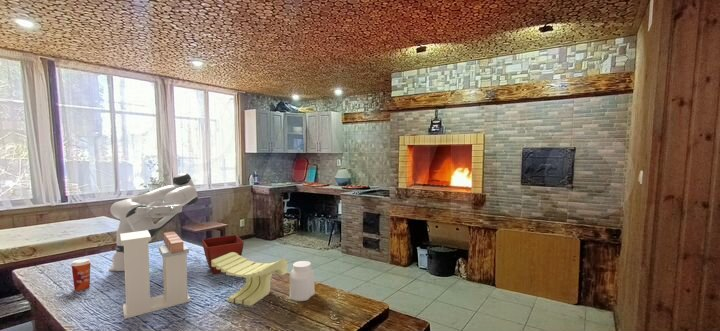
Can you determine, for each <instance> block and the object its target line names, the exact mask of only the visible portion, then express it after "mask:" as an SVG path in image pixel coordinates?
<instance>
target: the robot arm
mask: <svg viewBox="0 0 720 331" xmlns="http://www.w3.org/2000/svg"><path fill="white" fill-rule="evenodd" d="M198 202H199V195H198V193H197V189H196V186H195V185H194V182H193V180H192V177H191V175H190V174H189V173H187V172H185V173H184V172H182V173H179V174H177V175H174V177H173V178H172V184H170V185H166V186H162V187H159V188H156V189H154V190H151V191H149V192H146V193H143V194H139V195H136V196H132V197H129V198H126V199H123V200H119V201H116V202H114V203H113V204H111V206H110V210H109V211H110V214H111V215H112V216H113V217H114V218H116V219H118V220H119V226H118V228H117V230H116V231H115V232H116V245H115V254H113V256H112V265H111V266H110V267H109V269H108V271H110V272H115V271H116V272H125V266H124V245H122V246H121V240H120V234H123V233H131V232H138V231H146V230H148V232H149V234H150V235H151V240H152V239H153V238H155V237H156V235H158V233H159V232H160V231H161V230H163V229H164V228H165V227H166V226H167V225H169V224H170V223H171V222H172V221H173V220H175V219H176V217H178V216H179V215H180V213H182V212H183V206H185V207H191V206H193V205H195V204H197V203H198ZM152 218H153V219H160V218H161V219H160V220H158V222H156V223H154V222H153V220H152Z"/></svg>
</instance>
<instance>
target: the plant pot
mask: <svg viewBox="0 0 720 331" xmlns="http://www.w3.org/2000/svg"><path fill="white" fill-rule="evenodd" d="M201 241H202V242H201V243H202V248H203V251H204V256H205V260H206V262H207V265H208V267H209V270H210V272H211V274H212V275H213V276H215V275H218V274H225V273H226V272H221V269H220V270H218V269H216V267H212V266H211V260H213V259H216V258H218V257H221V256H223V255H226V254H228V253H231V252H235V253H238V255H240V256H243V251H244V244H245V242H244V240H243V239H241V237H239V236H238V235H237V234H231V235H225V236H224V235H223V236H217V237H210V238H204V239H203V238H202V240H201Z"/></svg>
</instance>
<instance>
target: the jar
mask: <svg viewBox="0 0 720 331" xmlns="http://www.w3.org/2000/svg"><path fill="white" fill-rule="evenodd" d="M288 277H289V298H290V299H291V300H293V301H295V302H305V301H308V300H309V299H310V298H311V297H313V296H314V295H315V294H316V293H315V292H316V291H315V272H314V270H313V268H312V262H310V261H308V260H299V261H295V262H294V263H293V264H292V270H291V271H290V274H289V276H288Z"/></svg>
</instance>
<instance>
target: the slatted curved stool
mask: <svg viewBox="0 0 720 331" xmlns="http://www.w3.org/2000/svg"><path fill="white" fill-rule="evenodd" d="M211 266H212V267H216V269H218V270H220V269H221V272H225V273H226V274H225V275H226V276H231V277H232V276H234V277H237V278H238V277H239V278H244V279H245V284H244V286H243V287H241V289H240V290H238V291H237V292H235V293H234V294H232V295H230V296H229V297H228V298H227V300H226V303H228V302H229V303H232V304H233V303H235V304H239V305H244V306H249V307H251V306H253V305H254V304H256V303H257V302H259V301H260V300H262V299H263V298H264V297H266V296H267V295H269V294H270V291H271V281H272V276H273V274H274V275H275V274H276V275H280V276H283V275H285V274H287V273H288V262H287V259H285V258H281V259H279V260H277V261H273V262H271V263H270V262H269V263H266V262H265V263H263V262H256V261H252V260H250V259H249V260H248V258H246V257H244V256H243V255H241V256H240V255H238V253H235V252H231V253H228V254H226V255H223V256H221V257H218V258H216V259H213V260H211Z"/></svg>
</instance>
